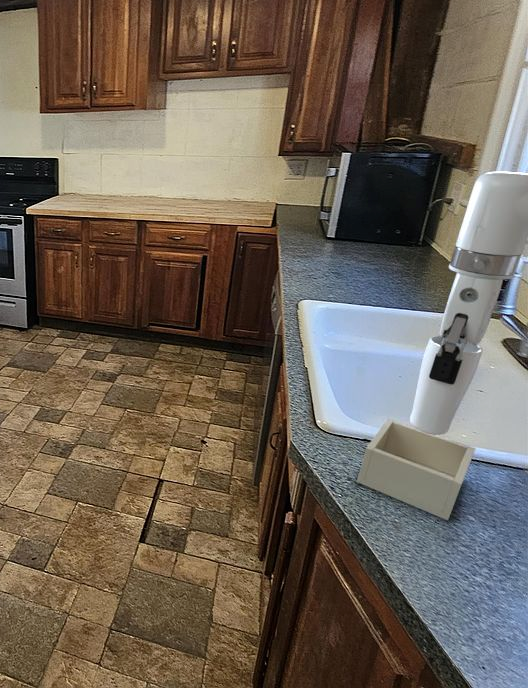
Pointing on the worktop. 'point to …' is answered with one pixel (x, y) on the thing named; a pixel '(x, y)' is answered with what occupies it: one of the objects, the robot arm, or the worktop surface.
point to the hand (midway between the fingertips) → (446, 372)
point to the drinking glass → (441, 390)
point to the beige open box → (416, 467)
